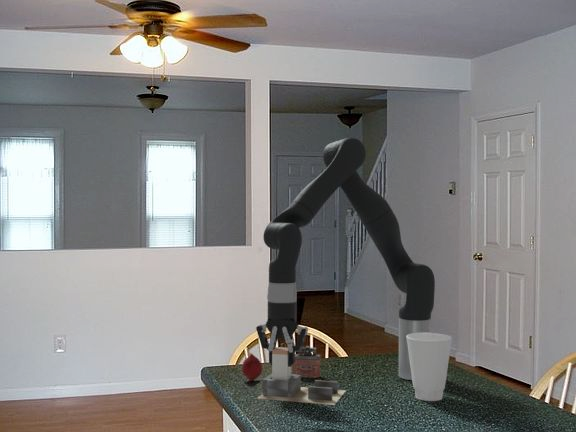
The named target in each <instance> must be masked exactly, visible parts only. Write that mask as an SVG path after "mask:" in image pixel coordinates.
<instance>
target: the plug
mask: <svg viewBox="0 0 576 432" xmlns="http://www.w3.org/2000/svg"><path fill="white" fill-rule="evenodd" d="M288 352H289V350H288V347H283V346H281V347H280V346H276V347H275V349H273V350H272V366H271V373H272V379H274V380H288V381H289V380H290V379H291V374H292V366H291V367H288Z"/></svg>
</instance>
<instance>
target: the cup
mask: <svg viewBox="0 0 576 432" xmlns="http://www.w3.org/2000/svg"><path fill="white" fill-rule="evenodd" d="M406 338H407V344H408V352H409V359H410V367H411V374H412V380H411V381H412V386H413V389H414V394H415V395H414V396H415V399H417V400H420V401H425V402H436V401H441V400H442V399H443V393H444V390H446V389H445V388H446V382H447V375H448V367H449V361H450V354H451V347H452V341H453V337H452V336H451V335H449V334H444V333H438V332H431V333H412V334H408V335H407V336H406Z"/></svg>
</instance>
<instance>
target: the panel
mask: <svg viewBox="0 0 576 432" xmlns="http://www.w3.org/2000/svg"><path fill="white" fill-rule="evenodd" d="M301 378H302V377H301V375H295V374H293V373H291V379H290V380H289V381H288V380H274V379H272V372H271V373H270V374H269V375H267V376H265V378H263V379H262V394H261V395H259V396H258V397H256V400H257V399H259V400H269V401H270V400H271V401H279V402H280V401H282V402H293V403H304V404H305V403H307V404H308V403H309V404H319V405H330V406H335V405H336V404H337V403H338V402H339V400H340V398H342V396H343V395H344V394H345V393H346V391H347V389H346V390H344V389H339V381H334V380H321V379H315V380H314V386H313V385H308V386H307V387H305V386H302V383H301V382H302V381H301V380H302V379H301Z"/></svg>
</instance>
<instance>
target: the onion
mask: <svg viewBox="0 0 576 432" xmlns="http://www.w3.org/2000/svg"><path fill="white" fill-rule="evenodd" d="M262 365H263V364H262V362H261V361H260V359H259V358H257V356H255V355H254V353H253V352H250V353H249V355H248V357H247V358H245V359H244V360H243V362H242V365H241V372H242V374H243V376H245V377H246V378H247V379H248V380H249V381H250V382H253V381H254V380H256V379H257V378H259V377H260V376H261V375H262V372H263V366H262Z"/></svg>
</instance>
